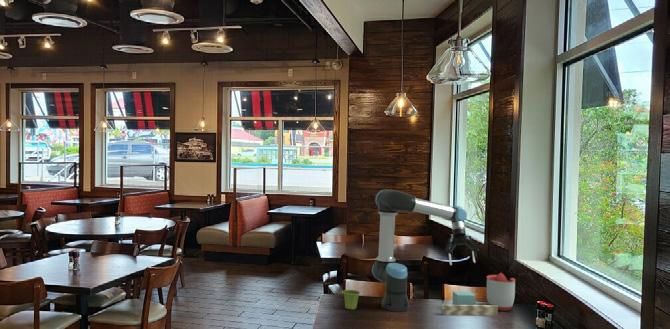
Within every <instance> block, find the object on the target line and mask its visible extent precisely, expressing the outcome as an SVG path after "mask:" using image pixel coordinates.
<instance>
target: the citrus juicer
mask: <svg viewBox="0 0 670 329" xmlns="http://www.w3.org/2000/svg"><path fill="white" fill-rule="evenodd" d="M515 294H516V278H514V277H511V278H509V280H508V279H507V277H506V276H505V274H503V273H502V272H500V273H498V274H488V275H487V276H486V300H487V304H488V305H497V306H498V311H500V310H501V311H500V312H504V311H505V312H506V311H507V312H508V311H510V310H512V308H513V304H514V302H515V296H516V295H515Z"/></svg>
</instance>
